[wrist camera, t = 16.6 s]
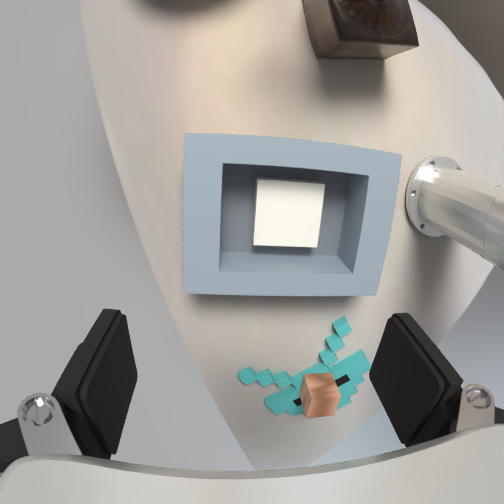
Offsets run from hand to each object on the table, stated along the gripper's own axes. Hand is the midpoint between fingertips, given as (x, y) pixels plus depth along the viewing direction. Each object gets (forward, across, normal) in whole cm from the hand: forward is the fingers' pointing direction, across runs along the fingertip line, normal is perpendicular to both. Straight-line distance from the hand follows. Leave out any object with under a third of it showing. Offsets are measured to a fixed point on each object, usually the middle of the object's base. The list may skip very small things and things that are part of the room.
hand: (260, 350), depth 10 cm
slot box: (+30, -6, +2) cm, 31 cm away
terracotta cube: (+29, -15, +32) cm, 46 cm away
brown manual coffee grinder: (+31, -10, -24) cm, 40 cm away
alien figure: (+31, -15, +33) cm, 48 cm away
